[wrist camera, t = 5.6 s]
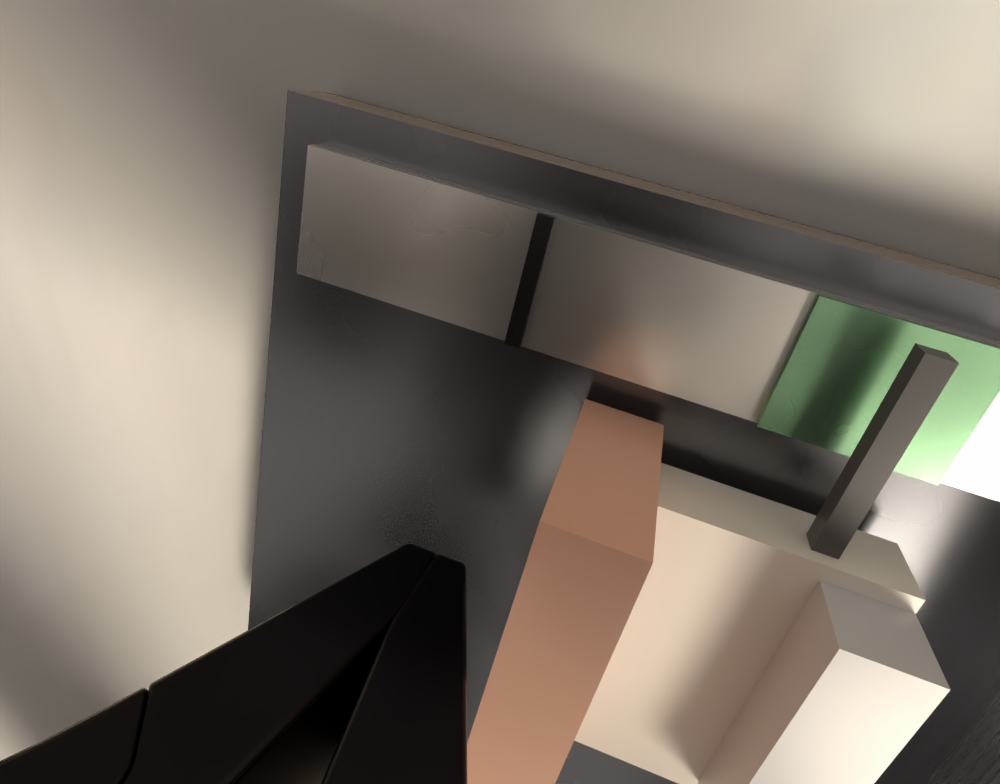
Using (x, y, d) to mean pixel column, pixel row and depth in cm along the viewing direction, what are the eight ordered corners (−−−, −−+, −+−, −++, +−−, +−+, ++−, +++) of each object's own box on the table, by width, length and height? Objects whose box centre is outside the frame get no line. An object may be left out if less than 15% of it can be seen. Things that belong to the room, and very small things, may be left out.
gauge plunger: (746, 774, 9) (764, 995, 7) (494, 671, 10) (433, 844, 8) (1016, 362, 6) (1211, 506, 4) (634, 249, 7) (606, 316, 5)
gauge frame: (936, 895, 11) (1032, 1196, 8) (276, 620, 13) (145, 779, 10) (1440, 401, 7) (2095, 646, 4) (329, 93, 9) (123, 77, 5)
